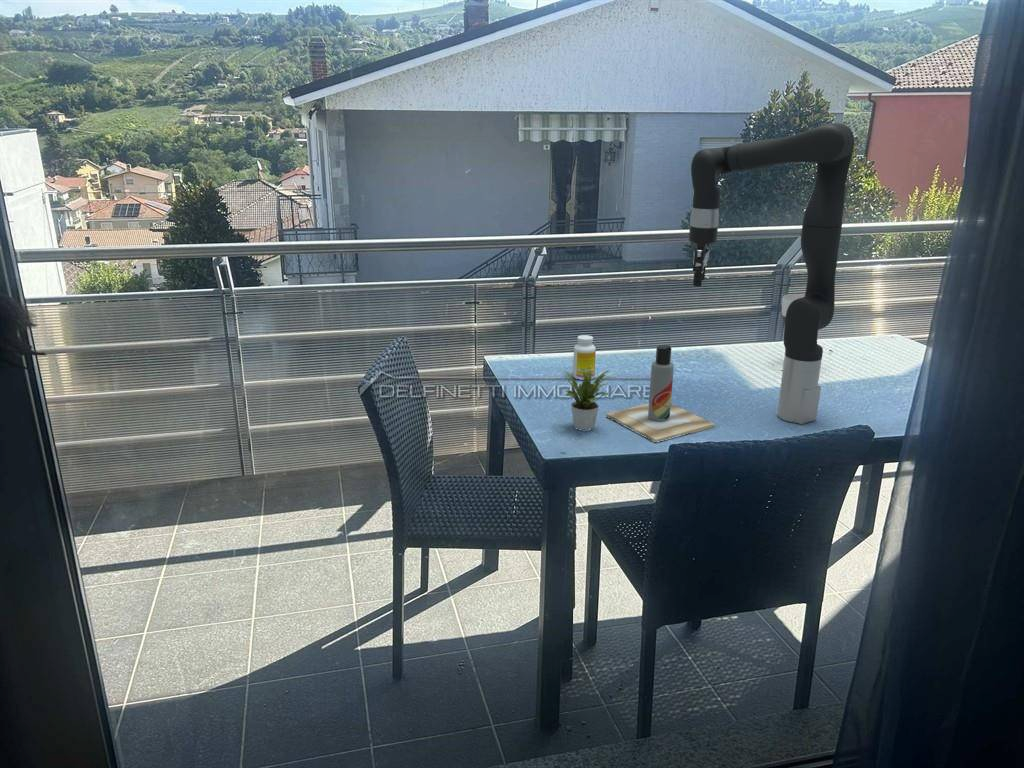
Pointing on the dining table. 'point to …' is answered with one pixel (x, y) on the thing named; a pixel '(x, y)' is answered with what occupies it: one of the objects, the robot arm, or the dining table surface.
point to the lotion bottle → (661, 385)
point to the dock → (656, 430)
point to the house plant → (585, 400)
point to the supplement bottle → (584, 357)
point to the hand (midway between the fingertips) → (698, 282)
